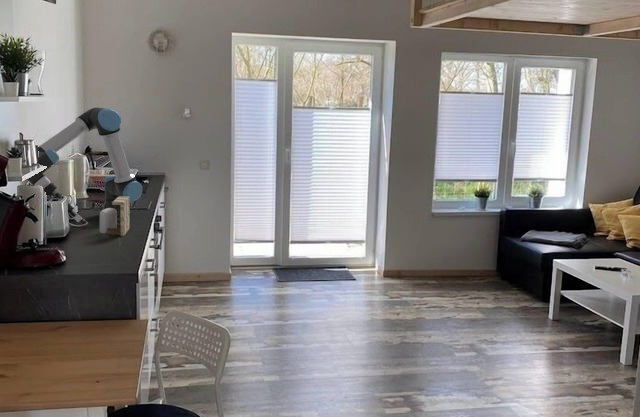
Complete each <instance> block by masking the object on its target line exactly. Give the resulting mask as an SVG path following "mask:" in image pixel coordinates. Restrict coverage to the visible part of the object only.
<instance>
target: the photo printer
mask: <svg viewBox="0 0 640 417" xmlns="http://www.w3.org/2000/svg"><path fill="white" fill-rule="evenodd" d="M117 221H118V217H117V211H116V210H115V209H113V208H107V209H104V210H101V211H100V212H99V233H100V234H107V229H108V228H117V224H118V222H117Z"/></svg>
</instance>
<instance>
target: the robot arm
mask: <svg viewBox="0 0 640 417" xmlns="http://www.w3.org/2000/svg"><path fill="white" fill-rule="evenodd" d="M121 124H122V118H121V115H120V114H119V113H118V112H117V111H116V110H114V109H112V108H109V107H92V108H90V109H88V110H86V111H84V112H83V113H82V114H80V115H78V116H77V117H76V118H75V120H74V121H73V122H72V123H70V124H69V125H68V126H66V127H64V128H63V129H62V130H61V131H59V132H58V133H56V134H55V135H53V136H52V137H50V138H48V140H46V141H45V142H42V144H40V145H38V146H37V147H38V151H39V157H38V163H39V164H40V165H43V166H47V168H46V169H44V170H43V171H41V172H39V173H38V174H35V175H34V176H32V177H31V178H29V179H26V181H28V182H29V184H31V185H32V186H33V185H40V186H42V187H43V189H44V191H45V192H46V195H47V197H49V198H50V197H64V196H63V195H62V193H59V192H57V191H56V189H57V188H58V187H57V186H56V185H55V184H54V182H51V180H50V179H49V178H48V177H47V176H46V175H45V174H44V173H45V172H47V171H48V170H49V169H51V168H52V167H53V166H54V165H56V164H57V162H59V160H60V157H59V154H58V152H59V151H60V150H62V149H63V148H64V147H66V146H68V144H70V143H71V142H73V141H75V140H76V139H78V138H79V137H80V136H82V135H83V134H85V133H86V134H87V133H89V132H91V131H93V130H97V132H98V136H99V137H101V138H102V139H103V141H104V145H105V148H106V150H107V155H108V158H109V160H110V163H111V167H112V169H113V172H114V175H112V176H111V175H110V176H106V177H105V178H104V204H103V207H102V210H104V209H107V208H113V209H115V210H116V211H117V218H121V206H120V205H112V202H113V201H114V200H115V199H116V198H118V197H119V196H121V197H130V202H135V201H137V200H138V199H139V198H140V197H141V195H142V194H143V185H142V184H141V183H140V182H139V181H137V178H136V175H135V174H134V173H132V171H131V168H130V165H129V163H128V159H127V155H126V153H125V149H124V146H123V142H122V139H121V137H120V132H121ZM74 209H75V207H73V205H71V204H70V203H69V202H68V215H69V216H70V217H72V219H74V221H76V222H77V223H79V222H81V220H83V216H81V215H79V213H77V212H76V211H75V210H74ZM102 210H101V211H102Z"/></svg>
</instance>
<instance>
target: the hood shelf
mask: <svg viewBox="0 0 640 417" xmlns="http://www.w3.org/2000/svg"><path fill="white" fill-rule="evenodd" d="M130 202H131V201H130V197H121V196H119V197H118V198H116V199H115V200H114V201H113V202H112V205H120V206H121V217H120V223H117V228H108V229H107V233H106V234H107V235H112V236H113V235H116V236H117V235H118V236H119V235H120V237H124V236H125V235H126V234H127V233H128V231H130V228H131V225H130V217H131V216H130V214H131V213H130V211H131V210H130Z"/></svg>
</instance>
